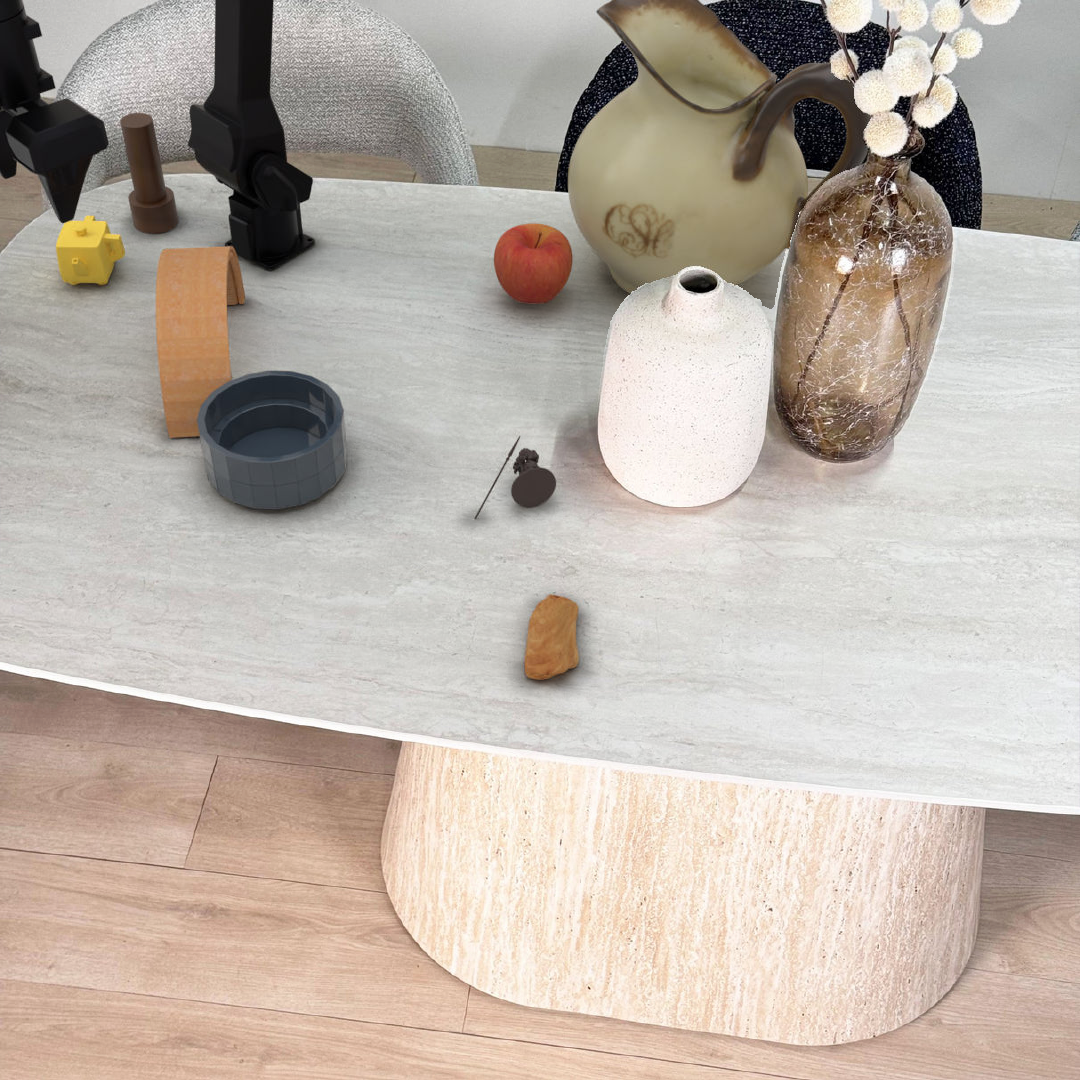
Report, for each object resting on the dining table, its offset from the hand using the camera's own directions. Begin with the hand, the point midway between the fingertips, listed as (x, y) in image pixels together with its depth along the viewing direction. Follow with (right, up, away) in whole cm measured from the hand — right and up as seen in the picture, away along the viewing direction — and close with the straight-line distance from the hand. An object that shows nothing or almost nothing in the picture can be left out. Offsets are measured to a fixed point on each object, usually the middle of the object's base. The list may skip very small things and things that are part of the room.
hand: (37, 198), depth 104 cm
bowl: (+20, -22, -1) cm, 30 cm away
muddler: (+3, +4, +24) cm, 24 cm away
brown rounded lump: (+40, -34, -13) cm, 54 cm away
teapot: (-1, -3, +17) cm, 17 cm away
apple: (+41, -5, +17) cm, 44 cm away
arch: (+12, -13, +8) cm, 19 cm away
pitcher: (+55, -2, +22) cm, 59 cm away
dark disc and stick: (+40, -24, -5) cm, 47 cm away
